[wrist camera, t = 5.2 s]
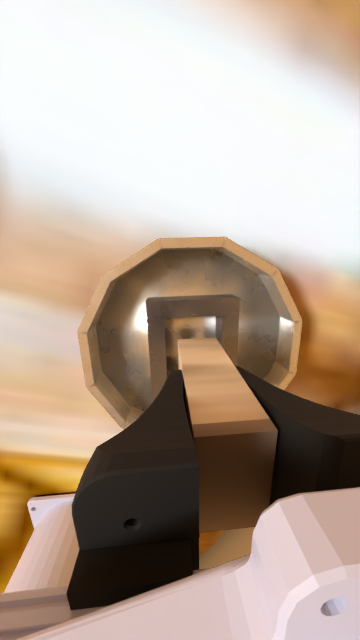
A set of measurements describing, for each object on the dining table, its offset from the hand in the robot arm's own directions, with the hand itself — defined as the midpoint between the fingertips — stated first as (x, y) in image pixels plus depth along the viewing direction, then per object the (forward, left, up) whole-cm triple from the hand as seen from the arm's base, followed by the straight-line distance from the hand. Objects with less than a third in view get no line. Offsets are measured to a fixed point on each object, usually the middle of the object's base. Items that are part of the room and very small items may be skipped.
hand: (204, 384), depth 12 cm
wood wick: (0, 0, -3) cm, 3 cm away
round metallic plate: (0, 0, -7) cm, 7 cm away
